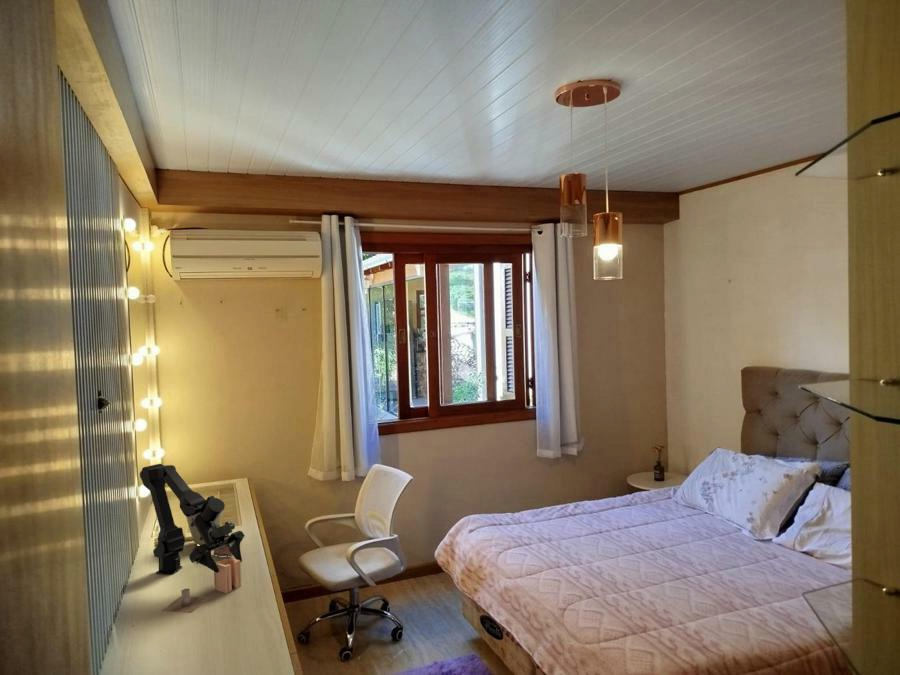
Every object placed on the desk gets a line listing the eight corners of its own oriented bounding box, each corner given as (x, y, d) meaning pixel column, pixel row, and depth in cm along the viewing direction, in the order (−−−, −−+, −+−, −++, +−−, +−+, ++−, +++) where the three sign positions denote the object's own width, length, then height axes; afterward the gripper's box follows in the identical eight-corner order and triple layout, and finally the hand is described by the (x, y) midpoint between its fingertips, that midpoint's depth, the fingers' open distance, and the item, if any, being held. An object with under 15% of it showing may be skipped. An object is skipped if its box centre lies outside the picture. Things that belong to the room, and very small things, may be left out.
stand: (161, 613, 188) (161, 596, 188) (181, 598, 198) (180, 582, 198) (191, 615, 187) (190, 598, 187) (209, 600, 197) (208, 584, 196)
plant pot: (216, 550, 240) (215, 510, 240) (179, 550, 241) (178, 510, 240) (230, 536, 255) (229, 499, 255) (196, 537, 256) (194, 499, 255)
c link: (214, 589, 203) (213, 563, 203) (229, 583, 208) (228, 557, 208) (226, 593, 200) (225, 566, 200) (241, 586, 205) (240, 560, 205)
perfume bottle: (234, 554, 235) (234, 529, 235) (229, 557, 232) (228, 532, 232) (217, 552, 237) (216, 527, 237) (211, 556, 234) (210, 530, 234)
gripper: (193, 523, 198) (216, 563, 192) (240, 507, 213) (262, 544, 208) (179, 542, 202) (201, 582, 196) (226, 526, 218) (248, 562, 212)
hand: (229, 566), depth 203 cm, fingers open, 9 cm apart
